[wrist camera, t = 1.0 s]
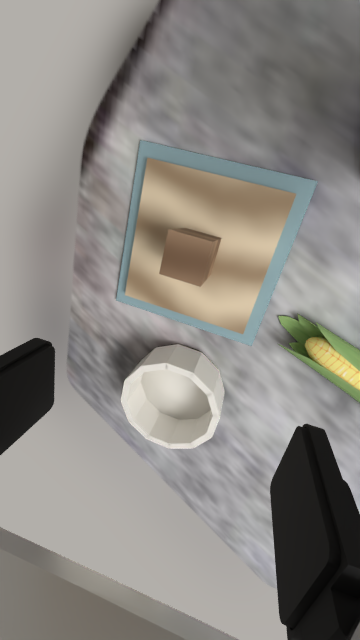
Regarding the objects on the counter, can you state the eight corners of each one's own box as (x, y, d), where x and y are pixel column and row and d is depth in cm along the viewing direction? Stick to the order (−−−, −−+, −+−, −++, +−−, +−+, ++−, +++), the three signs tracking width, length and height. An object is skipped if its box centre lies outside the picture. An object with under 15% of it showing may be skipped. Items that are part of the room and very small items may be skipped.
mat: (141, 141, 28) (140, 139, 27) (317, 181, 25) (317, 181, 25) (117, 299, 35) (116, 300, 34) (251, 344, 32) (251, 346, 32)
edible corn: (406, 428, 31) (429, 460, 27) (263, 331, 31) (264, 348, 27) (447, 400, 29) (480, 430, 25) (292, 297, 29) (299, 309, 25)
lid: (151, 159, 28) (119, 141, 21) (295, 194, 25) (308, 185, 19) (128, 293, 34) (98, 309, 27) (243, 331, 31) (240, 358, 25)
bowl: (148, 331, 35) (130, 349, 30) (235, 362, 33) (232, 387, 28) (133, 400, 40) (115, 426, 35) (209, 430, 38) (202, 462, 33)
